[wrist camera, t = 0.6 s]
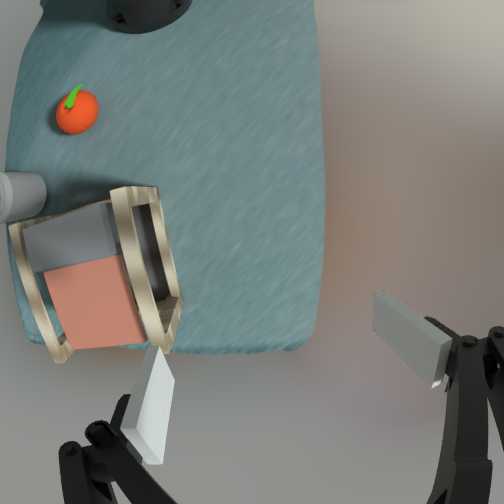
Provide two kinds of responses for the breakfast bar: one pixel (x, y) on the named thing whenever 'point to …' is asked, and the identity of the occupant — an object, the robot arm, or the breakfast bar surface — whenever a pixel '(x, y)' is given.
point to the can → (21, 195)
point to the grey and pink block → (86, 277)
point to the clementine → (77, 111)
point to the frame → (135, 262)
